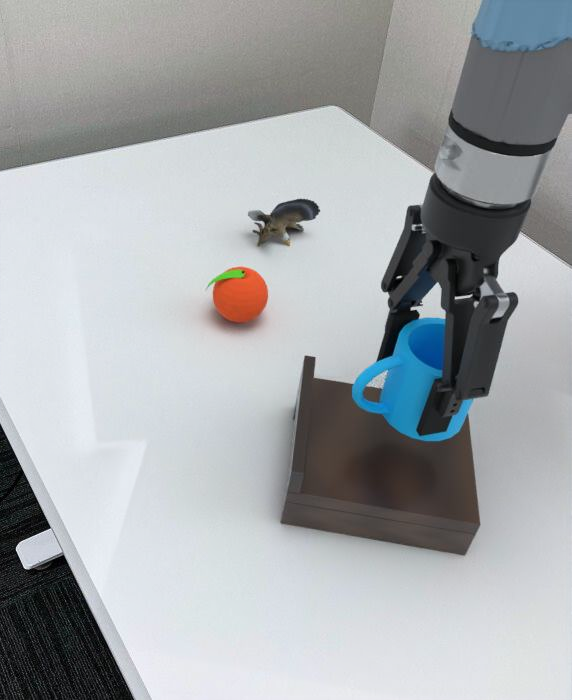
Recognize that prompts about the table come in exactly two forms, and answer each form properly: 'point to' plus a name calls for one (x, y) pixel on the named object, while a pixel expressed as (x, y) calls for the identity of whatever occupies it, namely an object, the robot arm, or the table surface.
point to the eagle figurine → (284, 218)
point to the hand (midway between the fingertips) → (409, 396)
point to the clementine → (239, 294)
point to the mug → (410, 379)
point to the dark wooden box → (376, 473)
